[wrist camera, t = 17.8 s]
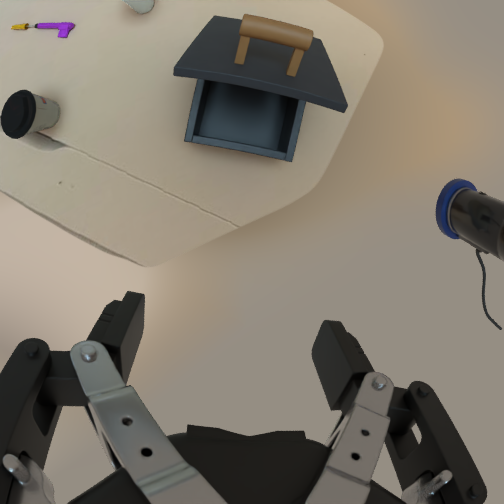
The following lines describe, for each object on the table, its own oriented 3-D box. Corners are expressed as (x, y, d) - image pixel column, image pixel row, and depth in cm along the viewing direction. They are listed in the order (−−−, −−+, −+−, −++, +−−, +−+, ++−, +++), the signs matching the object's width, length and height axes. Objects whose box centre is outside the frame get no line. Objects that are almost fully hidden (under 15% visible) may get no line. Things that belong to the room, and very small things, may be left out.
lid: (344, 113, 20) (371, 60, 15) (172, 76, 18) (179, 14, 13) (318, 44, 28) (332, 11, 24) (212, 21, 26) (220, -15, 22)
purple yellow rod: (75, 22, 29) (14, 24, 26) (72, 22, 28) (10, 24, 25) (71, 37, 30) (11, 37, 27) (67, 37, 29) (7, 37, 26)
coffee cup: (58, 139, 36) (22, 144, 27) (28, 131, 35) (-9, 135, 26) (71, 97, 34) (36, 92, 25) (40, 91, 33) (4, 86, 23)
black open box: (280, 157, 41) (292, 162, 34) (191, 140, 39) (183, 141, 32) (303, 57, 35) (318, 43, 28) (215, 39, 34) (213, 19, 26)
